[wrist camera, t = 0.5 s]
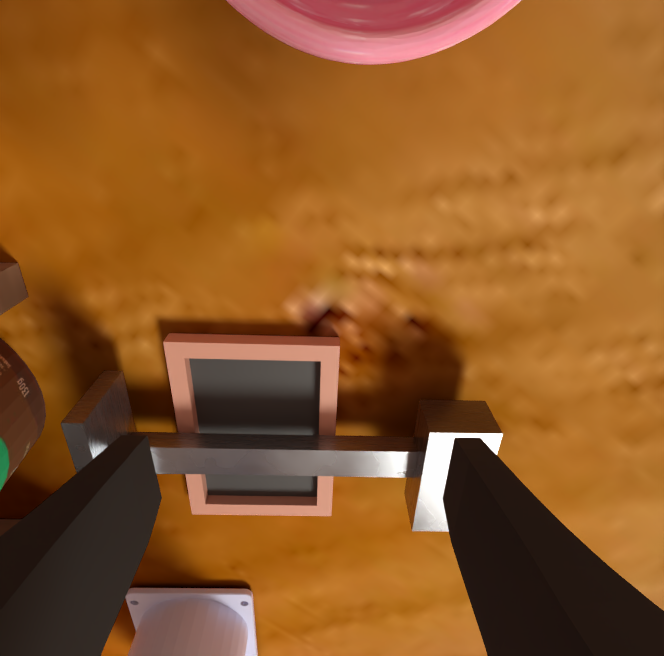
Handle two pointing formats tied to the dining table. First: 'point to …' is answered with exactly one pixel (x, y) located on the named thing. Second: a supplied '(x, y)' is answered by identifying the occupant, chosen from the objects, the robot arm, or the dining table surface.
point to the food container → (17, 411)
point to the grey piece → (293, 447)
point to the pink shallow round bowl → (372, 25)
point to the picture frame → (255, 412)
